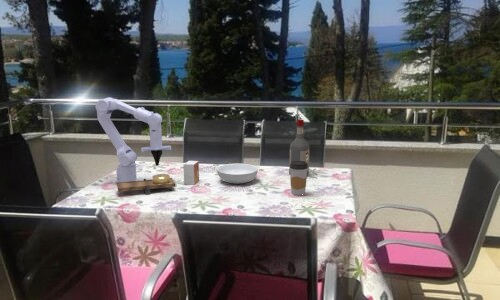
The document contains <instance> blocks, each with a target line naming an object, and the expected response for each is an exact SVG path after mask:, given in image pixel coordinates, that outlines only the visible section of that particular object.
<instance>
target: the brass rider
mask: <svg viewBox="0 0 500 300" xmlns="http://www.w3.org/2000/svg"><path fill="white" fill-rule="evenodd" d="M170 178H171V176H170V174H169V173H159V174H158V173H157V174H155V175H152V179H153V184H156V185H158V184H167V183H169V182H170Z"/></svg>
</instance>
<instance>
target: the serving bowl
mask: <svg viewBox="0 0 500 300" xmlns="http://www.w3.org/2000/svg"><path fill="white" fill-rule="evenodd" d="M258 171H259V168H258V167H257V166H255V165H253V164H249V163H237V162H236V163H227V164H222V165H219V166H217V168H216V172H217V175H218V177H219V178H220V180H222V181H224V182H226V183H230V184H235V185H236V184H239V185H240V184H246V183H249V182H251V181H253V180H255V178H256V176H257V175H258Z"/></svg>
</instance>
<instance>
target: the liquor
mask: <svg viewBox="0 0 500 300" xmlns="http://www.w3.org/2000/svg"><path fill="white" fill-rule="evenodd" d="M304 123H305V120H304V119H297V120H296V136H295V138H294V140H293V141H292V142H291V143H290V145H289V160H288V161H289V165H288V167H289V168H288V174H289V175H290V164H291V162H292V161H305V162H307V165H308V168H307V174H308V175H309V174H310V143H309V142H308V141H307V140H306V138H304V137H305V136H304V126H305V124H304Z"/></svg>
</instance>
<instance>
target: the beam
mask: <svg viewBox="0 0 500 300" xmlns="http://www.w3.org/2000/svg"><path fill="white" fill-rule="evenodd" d="M139 180H140V179H139ZM116 182H117V181H116ZM146 185H149V189H150V190H152V189H161V188H163V189H164V188H174V187H175V188H176V182H175V181H174V180H173V177H170V182H169V183H167V184H158V185H156V184H153V178H152V179H146V180H144V179H142V180H140V181H128V182H117V183H116V187H117V192H131V191H141V190H143V191H144V189H146Z"/></svg>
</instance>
